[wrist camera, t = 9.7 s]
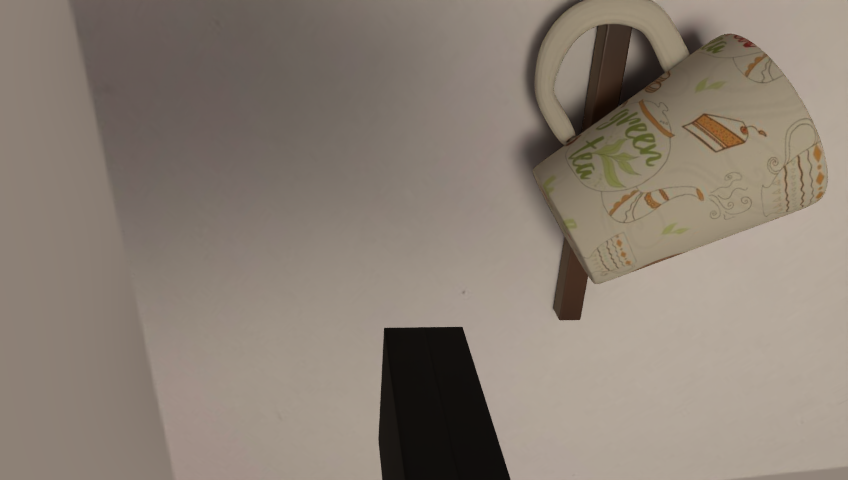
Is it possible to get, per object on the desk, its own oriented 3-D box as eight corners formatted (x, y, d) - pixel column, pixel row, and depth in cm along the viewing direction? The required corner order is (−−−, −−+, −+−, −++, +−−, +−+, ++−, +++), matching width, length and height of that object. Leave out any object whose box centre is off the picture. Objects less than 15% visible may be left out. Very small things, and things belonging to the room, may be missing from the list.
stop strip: (600, 5, 33) (609, 9, 32) (625, 7, 33) (635, 11, 32) (552, 309, 39) (558, 320, 38) (573, 308, 40) (580, 320, 39)
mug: (624, 333, 29) (857, 215, 28) (476, 56, 27) (718, -83, 26) (587, 282, 37) (766, 189, 36) (472, 67, 36) (656, -39, 34)
